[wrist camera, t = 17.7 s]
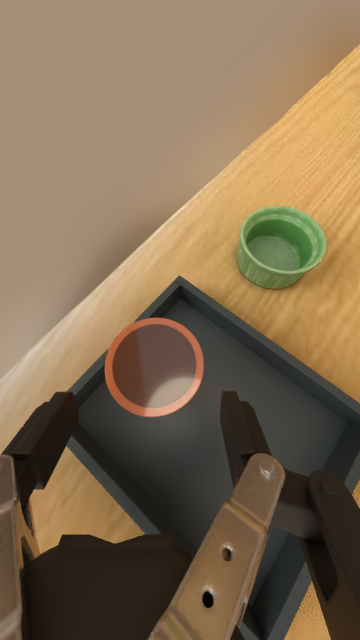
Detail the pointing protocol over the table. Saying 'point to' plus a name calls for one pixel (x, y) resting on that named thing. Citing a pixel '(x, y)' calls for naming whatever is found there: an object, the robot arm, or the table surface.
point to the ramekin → (279, 246)
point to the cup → (154, 367)
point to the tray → (219, 444)
